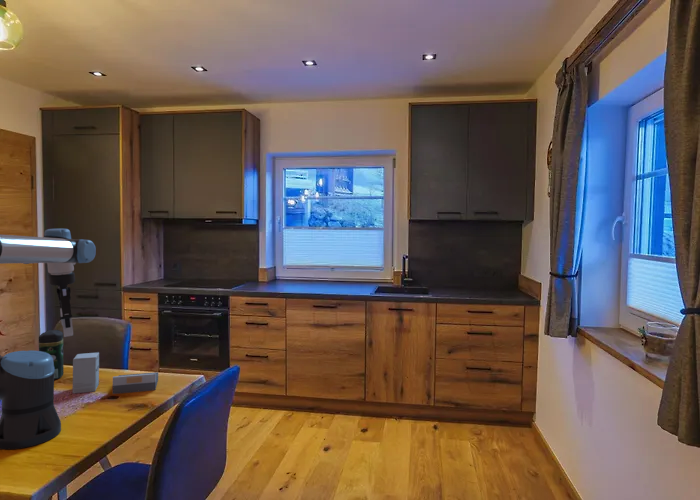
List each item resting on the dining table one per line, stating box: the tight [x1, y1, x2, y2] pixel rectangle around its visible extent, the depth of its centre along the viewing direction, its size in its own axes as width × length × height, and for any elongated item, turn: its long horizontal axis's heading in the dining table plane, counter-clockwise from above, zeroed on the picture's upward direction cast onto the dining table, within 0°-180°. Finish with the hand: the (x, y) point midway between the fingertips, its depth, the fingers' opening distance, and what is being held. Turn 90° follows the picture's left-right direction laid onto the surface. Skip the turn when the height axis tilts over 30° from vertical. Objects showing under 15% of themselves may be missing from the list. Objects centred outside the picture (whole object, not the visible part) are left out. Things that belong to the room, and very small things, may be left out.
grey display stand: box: [112, 371, 159, 395], centre depth 159 cm, size 12×14×6 cm
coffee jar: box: [38, 329, 64, 380], centre depth 167 cm, size 10×8×19 cm
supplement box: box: [72, 352, 100, 394], centre depth 155 cm, size 7×7×13 cm
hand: (67, 330), depth 151 cm, fingers open, 13 cm apart
